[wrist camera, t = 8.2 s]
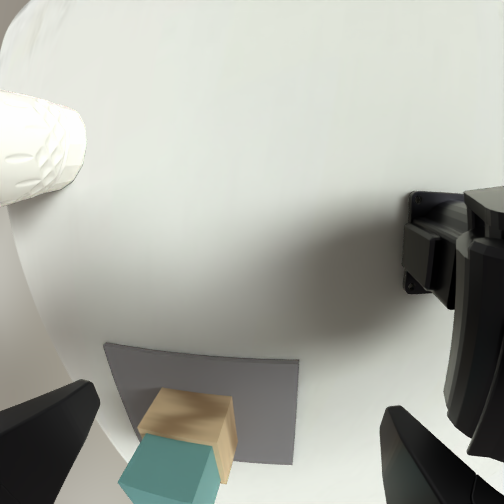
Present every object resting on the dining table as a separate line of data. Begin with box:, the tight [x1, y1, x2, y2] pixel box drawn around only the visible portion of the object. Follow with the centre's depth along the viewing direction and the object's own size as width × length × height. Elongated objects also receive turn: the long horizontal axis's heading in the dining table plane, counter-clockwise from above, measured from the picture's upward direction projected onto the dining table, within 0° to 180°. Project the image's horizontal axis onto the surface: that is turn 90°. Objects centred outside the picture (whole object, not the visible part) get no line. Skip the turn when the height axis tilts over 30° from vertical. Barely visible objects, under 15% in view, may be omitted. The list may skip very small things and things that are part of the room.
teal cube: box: [118, 433, 221, 504], centre depth 15 cm, size 5×5×5 cm
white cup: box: [0, 90, 87, 207], centre depth 14 cm, size 8×8×10 cm
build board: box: [103, 343, 299, 465], centre depth 23 cm, size 16×13×1 cm
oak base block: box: [137, 387, 238, 484], centre depth 20 cm, size 6×6×5 cm
